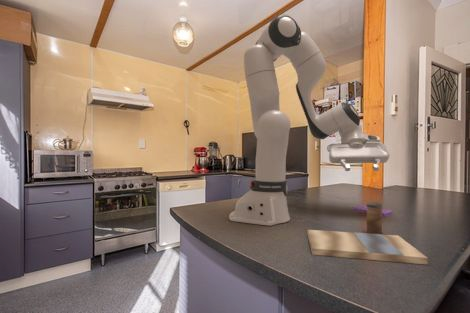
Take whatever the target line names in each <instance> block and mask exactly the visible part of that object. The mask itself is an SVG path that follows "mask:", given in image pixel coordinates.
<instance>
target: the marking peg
mask: <svg viewBox="0 0 470 313" xmlns="http://www.w3.org/2000/svg"><path fill="white" fill-rule="evenodd" d="M366 206H367V213H366V233H369V234H382V235H383V216H382V209H383V203H381V202H377V201H367V202H366Z"/></svg>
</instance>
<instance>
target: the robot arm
mask: <svg viewBox="0 0 470 313" xmlns="http://www.w3.org/2000/svg"><path fill="white" fill-rule="evenodd" d="M315 42H316V41H314V40H313V38H312V37H311V36H310V35H309V34H308V33H307V32H306V31H302V30H301V28H300V26H299V24H298V22H296V20H295V19H294V18H293V17H291V16H290V15H287V14H280V15H277V16H276V17H275V18H273V19H272V20H271V21H270V23H269V25H268V26H267V27H266V28H265V29H264V30H263V31H262V32H261V34H260V36H259V37H258V40H256V42H255V44H253V45H251V46H249V47H248V48H247V49H246V50H245V51H244V54H243V68H244V76H245V77H244V78H245V82H246V88H247V93H248V97H249V98H248V99H249V104H250V106H249V107H250V113H251V120H252V127H253V134H254V136H255V137H256V152H255V153H256V154H255V179H252V180H250V183H249V189H250V190H248V191H247V192H246V193H245V194H244V195H242V196H241V197H240V198H238V200H237V201H236V204H235V207H234V208H235V209H234V211H231V212H230V213H229V215H228V220H230V221H231V222H236V223H237V222H238V223H245V224H251V225H252V224H253V225H262V226H275V225H278V224H283V223H287V222H289V221H290V220H291V216H290V214H289V209H288V201H287V195H288V180H286V178H287V176H286V173H287V172H286V171H287V169H286V167H287V164H286V162H287V152H288V146H289V137H290V129H291V119H290V118H289V116H288V115H287V113H285V112H283V111H282V110H280V109H281V108H280V90H279V84H278V79H277V74H276V68H275V65H274V62H276V61H277V60H278V59H279V58H281V56H284V57H286V58H287V59H288V60H289V61H290V64H291V65H292V67H293V68H294V70H295V72H296V76H297V82H296V84H295V90H296V94H297V97H298V100H299V103H300V106H301V108H302V110H303V114H304V115H305V119H306V121H307V125H308V127H309V132H310V133H311V136H313V138H315V139H318V140H325V139H326V138H328V137H330V136H332V135H334V134H335V133H337V132H338V135H339V137H340V142H341V143H330V144H329V145H327V147H326V149H327V150H326V151H327V152H329V153H328V155H329V156H328V160H329V162H330V163H331V164H339V165H340V166H341V167H342V168H343V169H344V171H345V172H350V170H351V167H350V164H373V165H372V171H374V172H378V171H380V166H379V164H385V163H387V162H388V160H389V159H390V152H389V150H388V149H387V147H386V145H385V143H383V142H381V138H380V136H378V135H371V134H366V133H364V132H363V127H362V124H361V119H360V116H359V113H358V112H357V110H356V108H355V106H353V105H352V104H350V103H348V102H340V103H338V104H337V105H335V106H333V107H331V108H330V109H327V110H326V111H323V112H322V113H321V114H317V112H316V110H315V107H314V103H313V101H312V97H311V93H312V91H313V90H314V88H315V87H316V85H317V84H318V83H319V82H320V81H321V80H322V77H323V76H324V75H325V73H326V70H327V63H326V60H325V58H324V55H323V53H322V51H321V50H320V48H319V46H318V45H317V44H316V43H315Z"/></svg>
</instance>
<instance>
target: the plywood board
mask: <svg viewBox="0 0 470 313" xmlns="http://www.w3.org/2000/svg"><path fill="white" fill-rule="evenodd" d="M307 238H308V241H309V242H308V243H309V246H310V250H311V254H312V255H313V256H324V257H326V256H327V257H337V258H346V259H347V258H349V259H356V260H358V259H360V260H368V261H369V260H370V261H371V260H372V261H382V262H393V263H394V262H395V263H403V264H404V263H405V264H416V265H428V264H429V258H428V257H427V256H426V255H425V254H423V253H422V252H421V251H420V250H418V249H417V248H415V247H414V246H412V245H411V244H410V243H409V242H407V241H406V240H405V239H403V238H402V237H401V236H399V235H394V234H383V233H382V234H369V233H367V232H366V233H364V232H353V231H352V232H351V231H338V230H337V231H336V230H321V229H320V230H319V229H307Z"/></svg>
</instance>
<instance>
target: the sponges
mask: <svg viewBox="0 0 470 313" xmlns="http://www.w3.org/2000/svg"><path fill="white" fill-rule="evenodd" d="M352 211H354V212H355V211H356V212H360V213H365V214H367V205H364V204H359V205H356V206H352ZM391 215H393V210H388V209H383V208H382V217H388V216H391Z"/></svg>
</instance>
